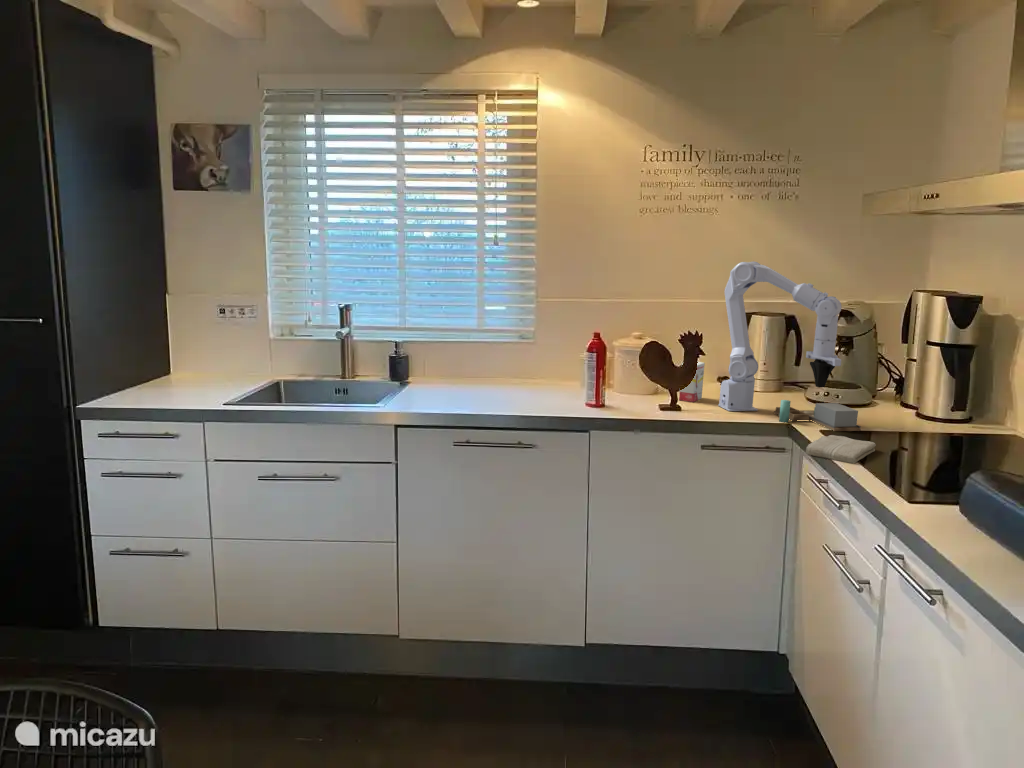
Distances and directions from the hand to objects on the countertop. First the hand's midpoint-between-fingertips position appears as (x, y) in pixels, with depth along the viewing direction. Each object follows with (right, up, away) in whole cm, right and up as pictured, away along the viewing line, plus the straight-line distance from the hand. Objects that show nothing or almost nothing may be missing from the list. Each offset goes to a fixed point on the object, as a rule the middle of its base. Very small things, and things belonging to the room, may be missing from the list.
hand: (820, 386), depth 233 cm
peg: (-11, -10, -1) cm, 15 cm away
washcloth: (-7, -17, -33) cm, 37 cm away
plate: (+1, -10, 0) cm, 10 cm away
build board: (-7, -9, +4) cm, 12 cm away
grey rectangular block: (+2, -11, -5) cm, 12 cm away
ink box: (-31, -4, +26) cm, 41 cm away
